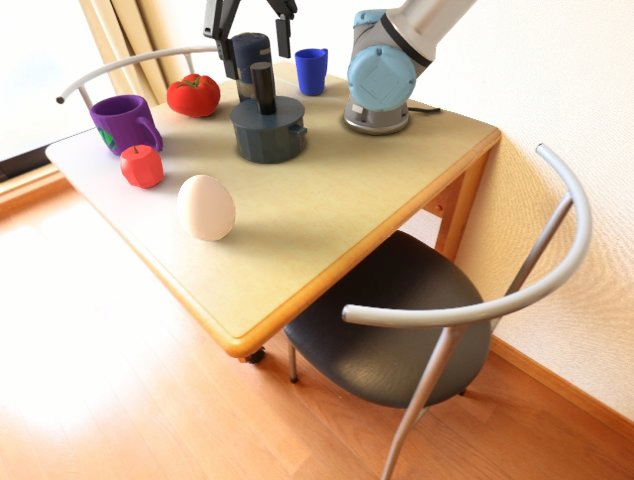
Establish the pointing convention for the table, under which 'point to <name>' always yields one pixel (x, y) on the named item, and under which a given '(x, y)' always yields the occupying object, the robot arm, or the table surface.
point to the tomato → (194, 95)
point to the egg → (205, 208)
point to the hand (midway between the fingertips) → (260, 67)
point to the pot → (271, 143)
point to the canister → (250, 60)
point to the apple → (142, 166)
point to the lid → (266, 105)
